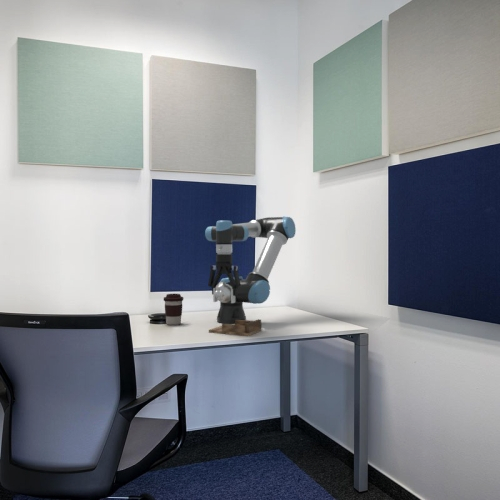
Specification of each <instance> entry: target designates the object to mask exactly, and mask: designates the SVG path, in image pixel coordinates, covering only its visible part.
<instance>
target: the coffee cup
mask: <svg viewBox="0 0 500 500" xmlns="http://www.w3.org/2000/svg"><path fill="white" fill-rule="evenodd" d="M181 295H182V294H180V293H168V294H166V295H165V296H164V297H163V301H164V315H165V322H166V324H167V325H169V326H170V325H171V326H176V325H177V326H178V325H180V324H181V323H182V316H183V301H184V297H183V296H181Z"/></svg>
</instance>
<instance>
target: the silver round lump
mask: <svg viewBox="0 0 500 500" xmlns="http://www.w3.org/2000/svg"><path fill="white" fill-rule="evenodd" d="M220 281H221V280H220ZM220 281H218V284H217V285H216V291H215V292H214V295H215V297H216V298H217V299H218V301H217V302H219V303H220V302H223V303H227V302H229V301H231V289H232V287H231V286H230V285H228V284H226V283H225V282H222V281H221V282H220Z"/></svg>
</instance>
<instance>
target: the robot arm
mask: <svg viewBox="0 0 500 500" xmlns="http://www.w3.org/2000/svg"><path fill="white" fill-rule="evenodd" d="M296 230H297V229H296V224H295V221H294V219H293V218H292V217H290V216H277V217H276V216H275V217H274V216H273V217H272V216H271V217H270V216H269V217H263V218H259V219H252V220H250V221H249V222H242V223H234V224H233V222H232V220H217V221H216V224H215V225H212V226H207V227H206V229H205V232H204V233H205V234H204V237H205V238H206V240H207V241H209V242H215V247H216V248H215V251H216V252H215V253H217V254H216V255H215V262H216V264H215V265H210V266H209V267H210V273H209V278H208V284H207V285H208V287H211V295H213V298H212V300H213V301H212V302H213V303H216V302H219V303H220V305H219V306H220V307H219V309H218V313H217V316H216V322H217V323H220V324H231V325H234V324H235V320H245V321H247V316H246V313H245V310H244V306H243V303H245V304H246V303H247V304H256V305H257V304H259V305H260V304H263V303H265V302H266V301H267V300H268V298H269V297H270V294H271V291H270V290H271V286H270V281H269V276H270V275H271V272H272V270H273V267H274V266H275V263H276V261H277V258H278V256H279V253H280V252H281V248H282V247H283V246H284V245H287V242H288V240H289V239H294V237H295V235H296ZM249 237H251V238H252V239H253V238H255V239H256V238H260V239H266V241H265V244H264V246H263V249H262V251H261V253H260V254H259V257H258V259H257V261H256V263H255V266H254V268H253V270H252V272H249V273H248V274H247V275H246V278H245V279H244V278H243V276H240V275H239V266H238V265H233V254H232V253H233V242H244V241H247V240H248V238H249ZM216 270H217V271H216ZM223 274H225V275H226V276H227V277H225V278H224V277H223V278H222V279H220V278H221V276H223ZM221 281H222V282H225V283H226V284H228V285H230V286H231V287H232V289H231V301H229V302H227V303H223V302H220V301H218V299H217V298H216V297H215V295H214V292H215V291H216V285H217V284H218V283H219V282H221Z"/></svg>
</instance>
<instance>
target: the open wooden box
mask: <svg viewBox="0 0 500 500" xmlns="http://www.w3.org/2000/svg"><path fill="white" fill-rule="evenodd" d="M260 332H262V319H256V320H246V321H245V320H235V323H234V324H229V323H221V325H219V326H217V327H214V328H210V329H208V333H211V334H219V335H220V334H222V335H230V336H231V335H233V336H234V335H235V336H243V337H244V336H245V337H249V336H252V335H254V334H256V333H260Z"/></svg>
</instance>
